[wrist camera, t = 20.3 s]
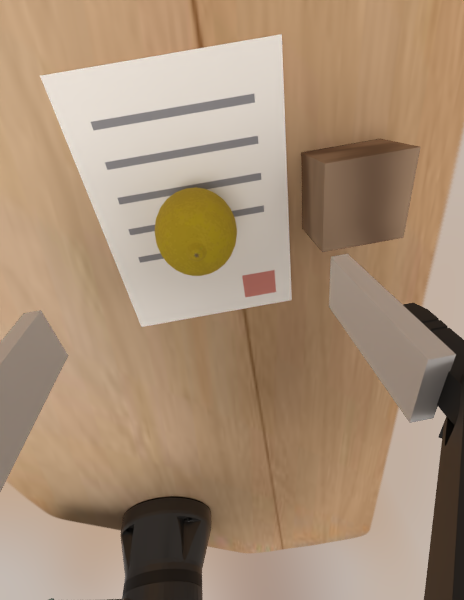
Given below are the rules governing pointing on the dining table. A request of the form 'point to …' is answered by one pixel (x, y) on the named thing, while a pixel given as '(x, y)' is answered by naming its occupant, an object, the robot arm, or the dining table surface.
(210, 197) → the lemon
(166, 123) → the letter
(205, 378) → the dining table surface
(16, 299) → the dining table surface
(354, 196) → the walnut block
